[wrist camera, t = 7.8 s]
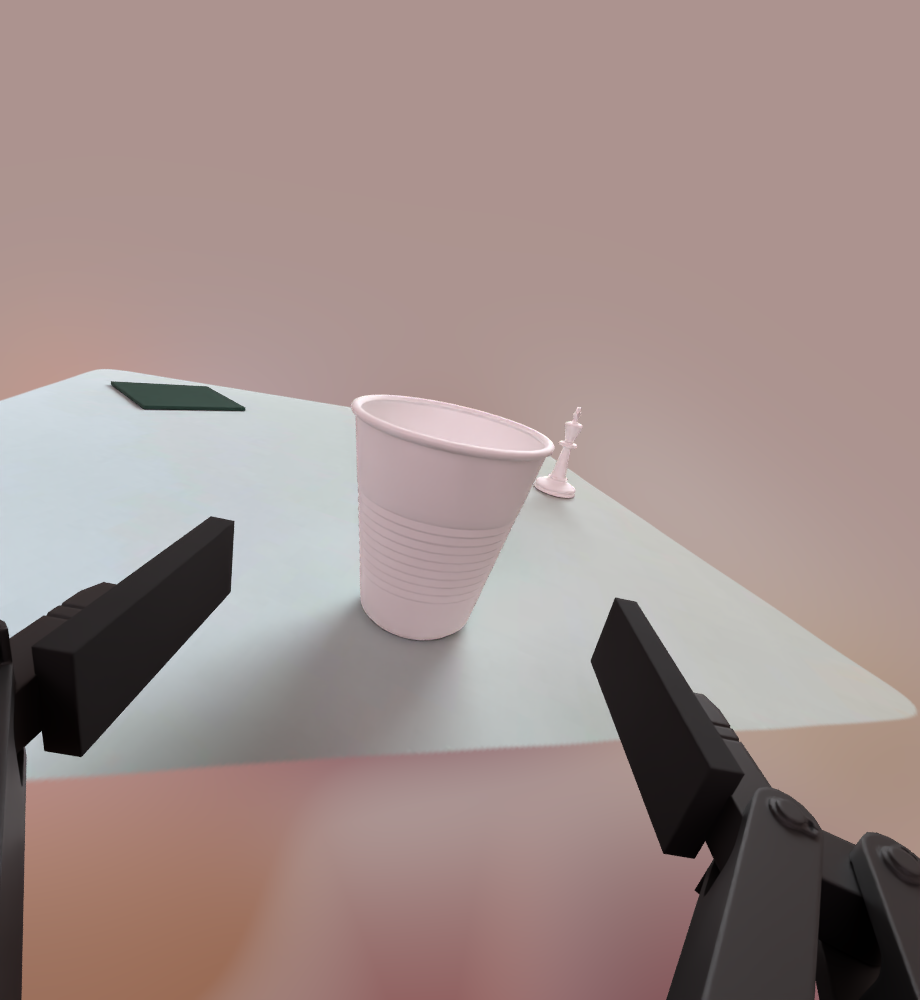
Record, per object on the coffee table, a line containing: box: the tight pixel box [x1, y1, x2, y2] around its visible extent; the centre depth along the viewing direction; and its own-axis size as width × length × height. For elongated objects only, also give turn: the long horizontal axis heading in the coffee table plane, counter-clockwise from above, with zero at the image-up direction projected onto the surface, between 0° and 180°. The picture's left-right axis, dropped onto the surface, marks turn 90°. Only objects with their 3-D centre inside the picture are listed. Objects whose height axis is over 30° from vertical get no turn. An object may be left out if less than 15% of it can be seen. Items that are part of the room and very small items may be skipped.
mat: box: [111, 381, 245, 411], centre depth 56 cm, size 11×11×1 cm
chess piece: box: [534, 407, 583, 498], centre depth 53 cm, size 5×5×10 cm
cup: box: [351, 395, 555, 640], centre depth 24 cm, size 10×10×11 cm
